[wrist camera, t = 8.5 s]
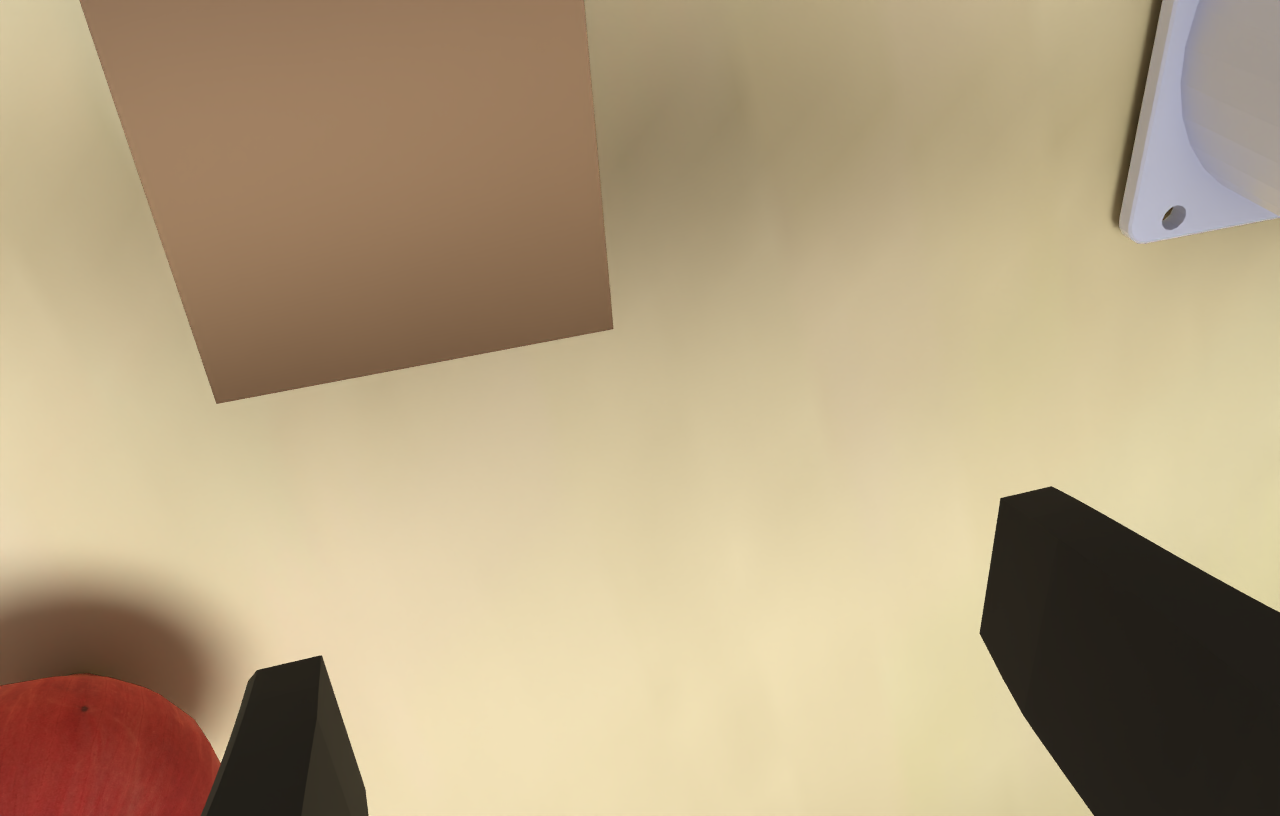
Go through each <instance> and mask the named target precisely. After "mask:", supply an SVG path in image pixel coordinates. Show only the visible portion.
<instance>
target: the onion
mask: <svg viewBox="0 0 1280 816" xmlns="http://www.w3.org/2000/svg"><path fill="white" fill-rule="evenodd" d="M220 765H221V763H220V761H219V760H218V758H217V756H216V754H215V752H214V750H213V748H212V746H211V744H210V742H209V741H208V739H207V738H206V736H205V735H204V733H203V732H202V730H201V729H200V727H199V726H198V724H197V723H196V721H195V720H194V719H193V718H192V717H191V716H189V715H188V714H186V713H185V712H184V711H182V710H181V709H179V708H178V707H177V706H175V705H174V704H173V703H171V702H170V701H168V700H167V699H166V698H164V697H163V696H162V695H160V694H158V693H156V692H154V691H152V690H150V689H148V688H145V687H142V686H139V685H135V684H132V683H128V682H125V681H121V680H118V679H114V678H111V677H103V676H99V675H94V674H90V673H83V674H72V675H68V676H56V677H48V678H42V679H37V680H31V681H25V682H19V683H13V684H7V685H1V686H0V816H201V813H202V811H203V809H204V806H205V804H206V801H207V799H208V796H209V793H210V791H211V788H212V786H213V783H214V780H215V778H216V775H217V772H218V770H219V767H220Z"/></svg>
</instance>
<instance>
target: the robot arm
mask: <svg viewBox="0 0 1280 816" xmlns="http://www.w3.org/2000/svg"><path fill="white" fill-rule="evenodd" d="M1172 207H1173V209H1172V211H1171V214H1170V215H1169V216H1168V217H1167V218H1166V219H1165V220H1163V217H1164V215H1165V213H1166V212H1167V211H1168V210H1169V209H1170V208H1172ZM1276 218H1280V0H1162V5H1161V11H1160V16H1159V21H1158V26H1157V31H1156V36H1155V41H1154V46H1153V51H1152V56H1151V61H1150V66H1149V71H1148V76H1147V81H1146V87H1145V92H1144V97H1143V102H1142V107H1141V112H1140V117H1139V122H1138V127H1137V132H1136V137H1135V142H1134V147H1133V152H1132V158H1131V163H1130V168H1129V173H1128V178H1127V183H1126V188H1125V193H1124V198H1123V203H1122V208H1121V213H1120V218H1119V228H1120V230H1121V232H1122V234H1124V235H1125V236H1127V237H1128V238H1130V239H1131V240H1133V241H1134V242H1136V243H1145V244H1146V243H1151V242H1156V241H1161V240H1167V239H1172V238H1177V237H1182V236H1188V235H1193V234H1198V233H1203V232H1208V231H1214V230H1219V229H1224V228H1229V227H1235V226H1240V225H1245V224H1250V223H1255V222H1261V221H1266V220H1271V219H1276ZM1162 220H1163V221H1162ZM980 635H981V637H982V639H983V641H984V643H985V645H986V647H987V649H988V651H989V653H990V654H991V656H992V658H993V660H994V662H995V664H996V666H997V668H998V670H999V672H1000V674H1001V676H1002V678H1003V680H1004V681H1005V683H1006V685H1007V687H1008V689H1009V690H1010V692H1011V694H1012V696H1013V698H1014V699H1015V701H1016V703H1017V705H1018V707H1019V708H1020V710H1021V712H1022V714H1023V716H1024V717H1025V719H1026V720H1027V721H1028V723H1029V724H1030V726H1031V727H1032V729H1033V730H1034V732H1035V733H1036V735H1037V736H1038V737H1039V739H1040V740H1041V742H1042V743H1043V745H1044V746H1045V747H1046V749H1047V750H1048V752H1049V753H1050V754H1051V756H1052V757H1053V759H1054V760H1055V762H1056V763H1057V764H1058V766H1059V767H1060V769H1061V770H1062V772H1063V773H1064V774H1065V776H1066V777H1067V779H1068V780H1069V781H1070V783H1071V784H1072V786H1073V787H1074V788H1075V790H1076V791H1077V793H1078V794H1079V795H1080V797H1081V798H1082V800H1083V801H1084V802H1085V804H1086V805H1087V807H1088V808H1089V809H1090V811H1091V812H1092V813H1093V815H1094V816H1280V612H1278V611H1276V610H1274V609H1272V608H1270V607H1268V606H1266V605H1264V604H1263V603H1261V602H1259V601H1257V600H1255V599H1253V598H1251V597H1250V596H1248V595H1246V594H1244V593H1242V592H1240V591H1238V590H1237V589H1235V588H1233V587H1231V586H1229V585H1227V584H1226V583H1224V582H1222V581H1220V580H1218V579H1217V578H1215V577H1213V576H1211V575H1209V574H1208V573H1206V572H1204V571H1202V570H1200V569H1199V568H1197V567H1195V566H1193V565H1192V564H1190V563H1188V562H1186V561H1184V560H1183V559H1181V558H1179V557H1177V556H1176V555H1174V554H1172V553H1170V552H1169V551H1167V550H1165V549H1163V548H1162V547H1160V546H1158V545H1156V544H1155V543H1153V542H1151V541H1149V540H1148V539H1146V538H1144V537H1142V536H1141V535H1139V534H1137V533H1135V532H1134V531H1132V530H1130V529H1128V528H1127V527H1125V526H1123V525H1121V524H1120V523H1118V522H1116V521H1114V520H1113V519H1111V518H1109V517H1107V516H1106V515H1104V514H1102V513H1100V512H1098V511H1097V510H1095V509H1093V508H1091V507H1090V506H1088V505H1086V504H1084V503H1082V502H1080V501H1079V500H1077V499H1075V498H1073V497H1071V496H1069V495H1067V494H1065V493H1064V492H1062V491H1060V490H1058V489H1056V488H1054V487H1052V486H1051V487H1047V488H1042V489H1038V490H1034V491H1029V492H1025V493H1021V494H1017V495H1012V496H1008V497H1004V498H1001V499H1000V506H999V512H998V519H997V525H996V531H995V538H994V544H993V551H992V557H991V564H990V570H989V576H988V583H987V589H986V596H985V602H984V609H983V615H982V622H981V628H980ZM201 816H368V807H367V799H366V790H365V787H364V784H363V781H362V777H361V774H360V771H359V768H358V765H357V762H356V759H355V756H354V753H353V750H352V747H351V744H350V741H349V738H348V734H347V731H346V728H345V725H344V722H343V719H342V716H341V713H340V710H339V707H338V704H337V701H336V698H335V695H334V691H333V688H332V685H331V682H330V679H329V676H328V673H327V670H326V667H325V664H324V661H323V658H322V655H321V656H316V657H312V658H308V659H303V660H299V661H295V662H290V663H286V664H282V665H277V666H273V667H269V668H264V669H260V670H257V671H256V672H255V673H254V675H253V676H252V677H251V678H250V680H249V681H248V683H247V687H246V690H245V693H244V697H243V700H242V703H241V707H240V710H239V713H238V716H237V719H236V722H235V725H234V728H233V731H232V734H231V737H230V740H229V742H228V745H227V748H226V751H225V754H224V756H223V759H222V762H221V765H220V767H219V770H218V772H217V775H216V778H215V780H214V783H213V786H212V788H211V791H210V793H209V796H208V799H207V801H206V804H205V806H204V809H203V811H202V813H201Z"/></svg>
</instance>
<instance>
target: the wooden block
mask: <svg viewBox="0 0 1280 816" xmlns="http://www.w3.org/2000/svg"><path fill="white" fill-rule="evenodd" d="M80 3H81V6H82V9H83V12H84V15H85V18H86V21H87V24H88V27H89V30H90V33H91V36H92V39H93V41H94V44H95V47H96V50H97V53H98V56H99V59H100V62H101V65H102V68H103V71H104V74H105V77H106V80H107V83H108V86H109V89H110V92H111V94H112V97H113V100H114V103H115V106H116V109H117V112H118V115H119V118H120V121H121V124H122V127H123V130H124V133H125V136H126V139H127V142H128V145H129V147H130V150H131V153H132V156H133V159H134V162H135V165H136V168H137V171H138V174H139V177H140V180H141V183H142V186H143V189H144V192H145V195H146V197H147V200H148V203H149V206H150V209H151V212H152V215H153V218H154V221H155V224H156V227H157V230H158V233H159V236H160V239H161V242H162V245H163V248H164V250H165V253H166V256H167V259H168V262H169V265H170V268H171V271H172V274H173V277H174V280H175V283H176V286H177V289H178V292H179V295H180V298H181V300H182V303H183V306H184V309H185V312H186V315H187V318H188V321H189V324H190V327H191V330H192V333H193V336H194V339H195V342H196V345H197V348H198V351H199V353H200V356H201V359H202V362H203V365H204V368H205V371H206V374H207V377H208V380H209V383H210V386H211V389H212V392H213V395H214V398H215V401H216V404H218V403H224V402H229V401H234V400H239V399H245V398H250V397H255V396H261V395H266V394H271V393H277V392H282V391H287V390H292V389H298V388H303V387H308V386H314V385H319V384H324V383H330V382H335V381H340V380H345V379H351V378H356V377H361V376H367V375H372V374H377V373H383V372H388V371H393V370H399V369H404V368H409V367H414V366H420V365H425V364H430V363H436V362H441V361H446V360H452V359H457V358H462V357H467V356H473V355H478V354H483V353H489V352H494V351H499V350H505V349H510V348H515V347H520V346H526V345H531V344H536V343H542V342H547V341H552V340H558V339H563V338H568V337H573V336H579V335H584V334H589V333H595V332H600V331H605V330H611V329H613V319H612V308H611V297H610V286H609V274H608V263H607V252H606V241H605V230H604V219H603V207H602V196H601V185H600V174H599V163H598V152H597V140H596V129H595V118H594V107H593V96H592V85H591V73H590V62H589V51H588V40H587V29H586V18H585V6H584V0H80Z"/></svg>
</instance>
